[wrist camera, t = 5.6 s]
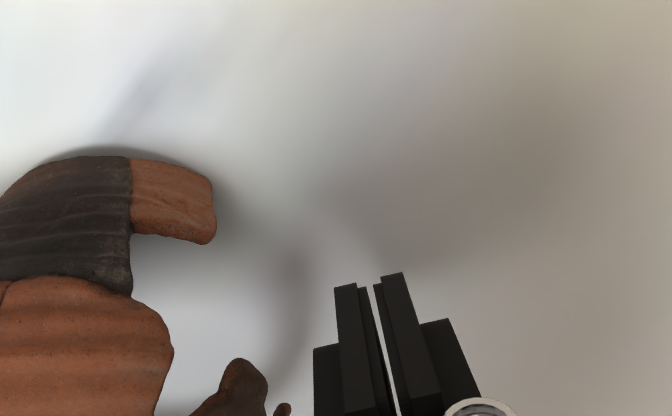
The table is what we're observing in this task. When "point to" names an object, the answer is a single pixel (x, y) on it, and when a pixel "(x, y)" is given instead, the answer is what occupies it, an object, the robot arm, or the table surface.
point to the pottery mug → (98, 291)
